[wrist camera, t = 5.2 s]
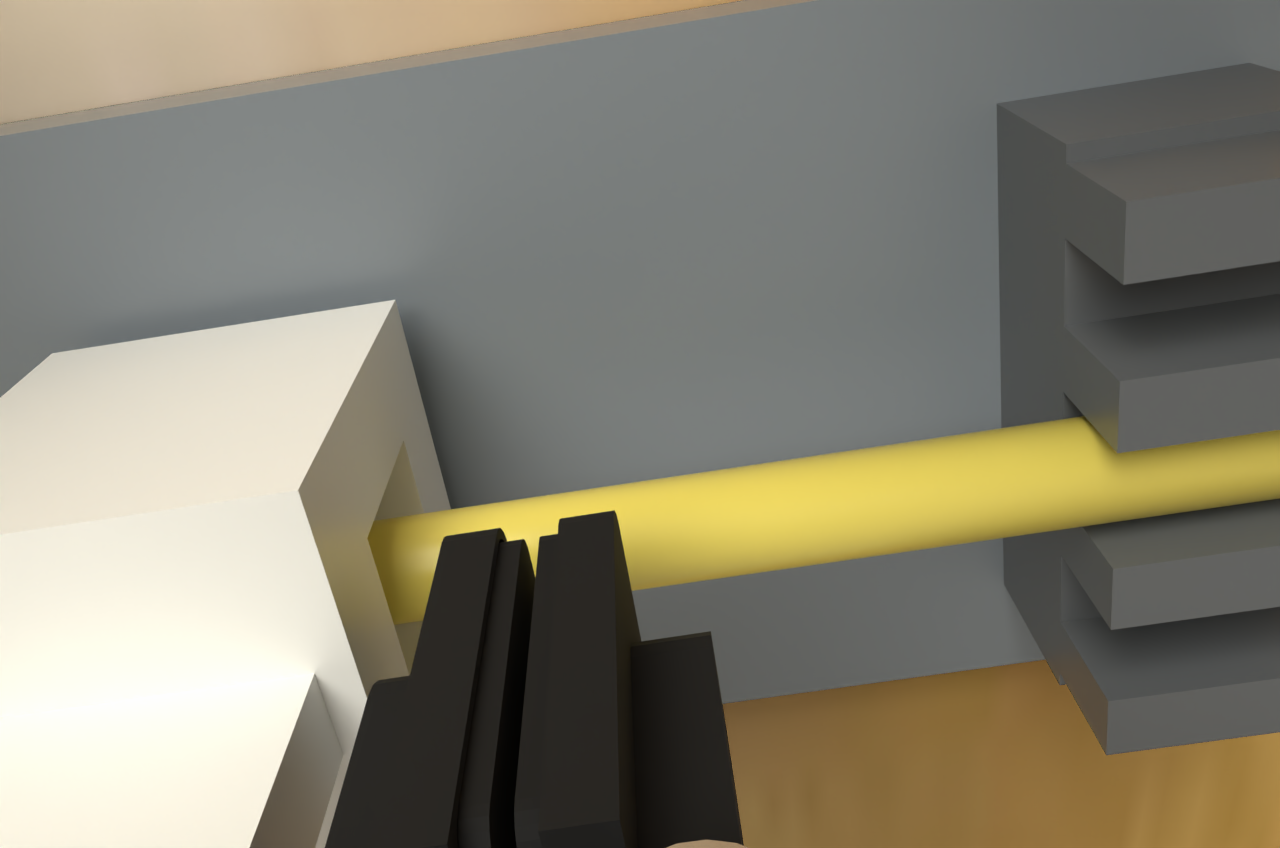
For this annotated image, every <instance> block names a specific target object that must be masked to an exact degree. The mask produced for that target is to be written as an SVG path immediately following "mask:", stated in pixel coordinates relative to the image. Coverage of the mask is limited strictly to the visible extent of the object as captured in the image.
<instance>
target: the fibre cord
mask: <svg viewBox="0 0 1280 848" xmlns="http://www.w3.org/2000/svg"><path fill="white" fill-rule="evenodd" d="M1273 499H1280V430H1275V431H1268V432H1261V433H1254V434H1247V435H1240V436H1234V437H1227V438H1220V439H1213V440H1206V441H1199V442H1192V443H1185V444H1179V445H1172V446H1165V447H1158V448H1151V449H1144V450H1137V451H1130V452H1124V453H1116V451H1115V450H1114V449H1113V448H1112V447H1111V446H1110V445H1109V443H1108V442H1107V441H1106V440H1105V439H1104V438H1103V437H1102V435H1101V434H1100V433H1099V432H1098V431H1097V430H1096V429H1095V427H1094V426H1093V425H1092V424H1091V423H1090V422H1089V421H1088V419H1087V418H1086V417H1085V416H1081V417H1075V418H1068V419H1061V420H1054V421H1048V422H1041V423H1034V424H1027V425H1020V426H1014V427H1007V428H1000V429H993V430H986V431H980V432H973V433H966V434H959V435H952V436H946V437H939V438H932V439H925V440H918V441H912V442H905V443H898V444H891V445H884V446H878V447H871V448H864V449H857V450H850V451H844V452H837V453H830V454H823V455H817V456H810V457H803V458H796V459H789V460H783V461H776V462H769V463H762V464H755V465H749V466H742V467H735V468H728V469H721V470H715V471H708V472H701V473H694V474H687V475H681V476H674V477H667V478H660V479H653V480H647V481H640V482H633V483H626V484H619V485H613V486H606V487H599V488H592V489H586V490H579V491H572V492H565V493H558V494H552V495H545V496H538V497H531V498H524V499H518V500H511V501H504V502H497V503H490V504H484V505H477V506H470V507H463V508H456V509H450V510H443V511H436V512H429V513H422V514H416V515H409V516H402V517H395V518H388V519H382V520H375V521H373V524H372V527H371V530H370V532H369V535H368V538H367V539H368V542H369V545H370V549H371V552H372V555H373V558H374V562H375V565H376V568H377V571H378V575H379V578H380V581H381V584H382V588H383V591H384V594H385V597H386V601H387V604H388V607H389V610H390V614H391V617H392V620H393V623H394V625H396V624H403V623H410V622H418V621H423V619H424V615H425V610H426V606H427V602H428V598H429V594H430V590H431V585H432V581H433V577H434V573H435V569H436V565H437V560H438V556H439V552H440V548H441V544H442V541H443V538H444V537H445V536H449V535H456V534H462V533H469V532H475V531H482V530H489V529H495V528H501V529H502V530H503V531H504V534H505V536H506V539H507V541H514V540H520V539H524V540H525V541H526V544H527V546H528V550H529V553H530V557H531V562H532V566H533V570H534V574H535V578H536V567H537V557H538V546H539V539H540V537H541V536H547V535H553V534H558V524H559V519H561V518H567V517H574V516H581V515H587V514H594V513H600V512H607V511H613V510H615V512H616V515H617V519H618V523H619V528H620V533H621V538H622V543H623V548H624V553H625V559H626V564H627V569H628V574H629V579H630V584H631V590H632V591H635V590H642V589H649V588H656V587H663V586H670V585H677V584H684V583H691V582H698V581H705V580H712V579H719V578H726V577H733V576H740V575H747V574H754V573H761V572H768V571H775V570H782V569H789V568H796V567H803V566H810V565H817V564H824V563H831V562H838V561H845V560H852V559H859V558H866V557H873V556H880V555H887V554H894V553H901V552H908V551H915V550H922V549H929V548H936V547H943V546H950V545H957V544H964V543H971V542H978V541H985V540H992V539H999V538H1006V537H1013V536H1020V535H1027V534H1034V533H1042V532H1049V531H1056V530H1063V529H1070V528H1077V527H1084V526H1091V525H1098V524H1105V523H1112V522H1119V521H1126V520H1133V519H1140V518H1147V517H1154V516H1161V515H1168V514H1175V513H1182V512H1189V511H1196V510H1203V509H1210V508H1217V507H1224V506H1231V505H1238V504H1245V503H1252V502H1259V501H1266V500H1273Z"/></svg>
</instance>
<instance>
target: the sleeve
mask: <svg viewBox="0 0 1280 848" xmlns="http://www.w3.org/2000/svg"><path fill="white" fill-rule="evenodd" d="M450 509H451V507H450V504H449V500H448V496H447V492H446V489H445V485H444V481H443V477H442V474H441V470H440V466H439V462H438V458H437V455H436V451H435V447H434V443H433V440H432V436H431V432H430V428H429V425H428V421H427V417H426V413H425V409H424V406H423V402H422V398H421V394H420V391H419V387H418V383H417V379H416V376H415V372H414V368H413V364H412V360H411V357H410V353H409V349H408V345H407V342H406V338H405V334H404V330H403V327H402V323H401V319H400V315H399V311H398V308H397V304H396V300H390V301H384V302H377V303H371V304H364V305H358V306H352V307H345V308H339V309H332V310H326V311H320V312H313V313H307V314H300V315H294V316H288V317H281V318H275V319H268V320H262V321H256V322H249V323H243V324H237V325H230V326H224V327H217V328H211V329H205V330H198V331H192V332H185V333H179V334H173V335H166V336H160V337H153V338H147V339H141V340H134V341H128V342H121V343H115V344H109V345H102V346H96V347H89V348H83V349H77V350H70V351H64V352H58V353H52V354H51V355H50V356H48V357H47V358H46V359H45V360H44V361H43V362H41V363H40V364H39V365H38V366H37V367H36V368H34V369H33V370H32V371H31V372H30V373H28V374H27V375H26V376H25V377H24V378H23V379H21V380H20V381H19V382H18V383H17V384H16V385H14V386H13V387H12V388H11V389H10V390H9V391H7V392H6V393H5V394H4V395H3V396H1V397H0V848H325V845H326V841H327V838H328V834H329V831H330V827H331V824H332V820H333V817H334V813H335V810H336V806H337V803H338V799H339V796H340V792H341V789H342V785H343V782H344V778H345V775H346V771H347V768H348V764H349V761H350V757H351V754H352V750H353V747H354V743H355V740H356V736H357V733H358V729H359V726H360V722H361V719H362V715H363V712H364V708H365V705H366V701H367V698H368V695H369V693H370V690H371V688H372V686H373V684H374V683H376V682H377V681H378V680H383V679H390V678H396V677H403V676H410V673H411V669H412V664H413V660H414V656H415V652H416V648H417V644H418V639H419V635H420V631H421V627H422V623H423V621H418V622H410V623H403V624H396V625H394V623H393V620H392V617H391V614H390V610H389V607H388V604H387V601H386V597H385V594H384V591H383V588H382V584H381V581H380V578H379V575H378V571H377V568H376V565H375V562H374V558H373V555H372V552H371V549H370V545H369V542H368V539H367V538H368V535H369V532H370V530H371V527H372V524H373V521H375V520H382V519H388V518H395V517H402V516H409V515H416V514H422V513H429V512H436V511H443V510H450Z"/></svg>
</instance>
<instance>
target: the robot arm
mask: <svg viewBox="0 0 1280 848" xmlns="http://www.w3.org/2000/svg"><path fill="white" fill-rule="evenodd" d="M325 848H748V847H745V846H744V844H743V837H742V830H741V824H740V817H739V810H738V803H737V796H736V790H735V783H734V776H733V770H732V763H731V756H730V750H729V743H728V737H727V730H726V724H725V717H724V711H723V705H722V698H721V692H720V685H719V679H718V673H717V667H716V660H715V654H714V648H713V641H712V635H711V631H709V632H702V633H695V634H688V635H682V636H675V637H668V638H661V639H654V640H648V641H641V636H640V631H639V626H638V621H637V616H636V610H635V605H634V600H633V595H632V590H631V584H630V579H629V574H628V569H627V564H626V559H625V553H624V548H623V543H622V538H621V533H620V528H619V523H618V519H617V515H616V512H615V510H613V511H607V512H600V513H594V514H587V515H581V516H574V517H567V518H561V519H559V524H558V534H553V535H547V536H541V537H540V539H539V546H538V557H537V567H536V578H535V574H534V570H533V566H532V562H531V557H530V553H529V550H528V546H527V544H526V541H525V540H524V539H520V540H514V541H507V539H506V536H505V534H504V531H503V530H502V529H501V528H495V529H489V530H482V531H475V532H469V533H462V534H456V535H449V536H445V537H444V538H443V541H442V544H441V548H440V552H439V556H438V560H437V565H436V569H435V573H434V577H433V581H432V585H431V590H430V594H429V598H428V602H427V606H426V610H425V615H424V619H423V623H422V627H421V631H420V635H419V639H418V644H417V648H416V652H415V656H414V660H413V664H412V669H411V673H410V676H403V677H396V678H390V679H383V680H378V681H377V682H376V683H374V684H373V686H372V688H371V690H370V693H369V695H368V698H367V701H366V705H365V708H364V712H363V715H362V719H361V722H360V726H359V729H358V733H357V736H356V740H355V743H354V747H353V750H352V754H351V757H350V761H349V764H348V768H347V771H346V775H345V778H344V782H343V785H342V789H341V792H340V796H339V799H338V803H337V806H336V810H335V813H334V817H333V820H332V824H331V827H330V831H329V834H328V838H327V841H326V845H325Z"/></svg>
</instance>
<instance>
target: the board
mask: <svg viewBox="0 0 1280 848" xmlns="http://www.w3.org/2000/svg"><path fill="white" fill-rule="evenodd" d="M390 300H396V304H397V308H398V311H399V315H400V319H401V323H402V327H403V330H404V334H405V338H406V342H407V345H408V349H409V353H410V357H411V360H412V364H413V368H414V372H415V376H416V379H417V383H418V387H419V391H420V394H421V398H422V402H423V406H424V409H425V413H426V417H427V421H428V425H429V428H430V432H431V436H432V440H433V443H434V447H435V451H436V455H437V458H438V462H439V466H440V470H441V474H442V477H443V481H444V485H445V489H446V492H447V496H448V500H449V504H450V507H451V509H456V508H463V507H470V506H477V505H484V504H490V503H497V502H504V501H511V500H518V499H524V498H531V497H538V496H545V495H552V494H558V493H565V492H572V491H579V490H586V489H592V488H599V487H606V486H613V485H619V484H626V483H633V482H640V481H647V480H653V479H660V478H667V477H674V476H681V475H687V474H694V473H701V472H708V471H715V470H721V469H728V468H735V467H742V466H749V465H755V464H762V463H769V462H776V461H783V460H789V459H796V458H803V457H810V456H817V455H823V454H830V453H837V452H844V451H850V450H857V449H864V448H871V447H878V446H884V445H891V444H898V443H905V442H912V441H918V440H925V439H932V438H939V437H946V436H952V435H959V434H966V433H973V432H980V431H986V430H993V429H1000V428H1007V427H1014V426H1020V425H1027V424H1034V423H1041V422H1048V421H1054V420H1061V419H1068V418H1075V417H1081V416H1085V417H1086V418H1087V419H1088V421H1089V422H1090V423H1091V424H1092V425H1093V426H1094V427H1095V429H1096V430H1097V431H1098V432H1099V433H1100V434H1101V435H1102V437H1103V438H1104V439H1105V440H1106V441H1107V442H1108V443H1109V445H1110V446H1111V447H1112V448H1113V449H1114V450H1115V451H1116V453H1124V452H1130V451H1137V450H1144V449H1151V448H1158V447H1165V446H1172V445H1179V444H1185V443H1192V442H1199V441H1206V440H1213V439H1220V438H1227V437H1234V436H1240V435H1247V434H1254V433H1261V432H1268V431H1275V430H1280V0H743V1H737V2H731V3H725V4H719V5H713V6H707V7H701V8H695V9H689V10H683V11H677V12H671V13H665V14H659V15H653V16H647V17H641V18H635V19H629V20H623V21H617V22H611V23H605V24H599V25H593V26H587V27H581V28H575V29H569V30H563V31H557V32H551V33H545V34H539V35H533V36H527V37H521V38H515V39H509V40H503V41H497V42H491V43H485V44H479V45H473V46H467V47H461V48H455V49H449V50H443V51H437V52H431V53H425V54H419V55H413V56H407V57H401V58H395V59H389V60H383V61H377V62H371V63H365V64H359V65H353V66H347V67H341V68H335V69H329V70H323V71H317V72H311V73H305V74H299V75H293V76H287V77H281V78H275V79H269V80H263V81H257V82H251V83H245V84H239V85H233V86H227V87H221V88H215V89H209V90H203V91H197V92H191V93H185V94H179V95H173V96H167V97H161V98H155V99H149V100H143V101H137V102H131V103H125V104H119V105H113V106H107V107H101V108H95V109H89V110H83V111H77V112H71V113H65V114H59V115H53V116H47V117H41V118H35V119H29V120H23V121H17V122H11V123H5V124H0V397H1V396H3V395H4V394H5V393H6V392H7V391H9V390H10V389H11V388H12V387H13V386H14V385H16V384H17V383H18V382H19V381H20V380H21V379H23V378H24V377H25V376H26V375H27V374H28V373H30V372H31V371H32V370H33V369H34V368H36V367H37V366H38V365H39V364H40V363H41V362H43V361H44V360H45V359H46V358H47V357H48V356H50V355H51V354H52V353H58V352H64V351H70V350H77V349H83V348H89V347H96V346H102V345H109V344H115V343H121V342H128V341H134V340H141V339H147V338H153V337H160V336H166V335H173V334H179V333H185V332H192V331H198V330H205V329H211V328H217V327H224V326H230V325H237V324H243V323H249V322H256V321H262V320H268V319H275V318H281V317H288V316H294V315H300V314H307V313H313V312H320V311H326V310H332V309H339V308H345V307H352V306H358V305H364V304H371V303H377V302H384V301H390ZM632 595H633V600H634V605H635V610H636V616H637V621H638V626H639V631H640V636H641V641H648V640H654V639H661V638H668V637H675V636H682V635H688V634H695V633H702V632H709V631H711V635H712V641H713V648H714V654H715V660H716V667H717V673H718V679H719V685H720V692H721V698H722V704H725V703H732V702H740V701H747V700H754V699H761V698H769V697H776V696H783V695H791V694H798V693H805V692H812V691H820V690H827V689H834V688H842V687H849V686H856V685H863V684H871V683H878V682H885V681H892V680H900V679H907V678H914V677H922V676H929V675H936V674H943V673H951V672H958V671H965V670H973V669H980V668H987V667H994V666H1002V665H1009V664H1016V663H1024V662H1031V661H1038V660H1045V659H1046V661H1047V663H1048V665H1049V667H1050V668H1051V670H1052V672H1053V674H1054V676H1055V677H1056V679H1057V681H1058V683H1059V685H1065V684H1066V685H1067V686H1068V688H1069V690H1070V692H1071V693H1072V695H1073V697H1074V699H1075V700H1076V702H1077V704H1078V706H1079V708H1080V709H1081V711H1082V713H1083V715H1084V716H1085V718H1086V720H1087V722H1088V724H1089V725H1090V727H1091V729H1092V731H1093V732H1094V734H1095V736H1096V738H1097V739H1098V741H1099V743H1100V745H1101V747H1102V748H1103V750H1104V752H1105V754H1106V755H1111V754H1119V753H1126V752H1134V751H1141V750H1149V749H1156V748H1164V747H1172V746H1179V745H1187V744H1194V743H1202V742H1209V741H1217V740H1224V739H1232V738H1239V737H1247V736H1254V735H1262V734H1269V733H1277V732H1280V499H1273V500H1266V501H1259V502H1252V503H1245V504H1238V505H1231V506H1224V507H1217V508H1210V509H1203V510H1196V511H1189V512H1182V513H1175V514H1168V515H1161V516H1154V517H1147V518H1140V519H1133V520H1126V521H1119V522H1112V523H1105V524H1098V525H1091V526H1084V527H1077V528H1070V529H1063V530H1056V531H1049V532H1042V533H1034V534H1027V535H1020V536H1013V537H1006V538H999V539H992V540H985V541H978V542H971V543H964V544H957V545H950V546H943V547H936V548H929V549H922V550H915V551H908V552H901V553H894V554H887V555H880V556H873V557H866V558H859V559H852V560H845V561H838V562H831V563H824V564H817V565H810V566H803V567H796V568H789V569H782V570H775V571H768V572H761V573H754V574H747V575H740V576H733V577H726V578H719V579H712V580H705V581H698V582H691V583H684V584H677V585H670V586H663V587H656V588H649V589H642V590H635V591H632Z"/></svg>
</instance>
